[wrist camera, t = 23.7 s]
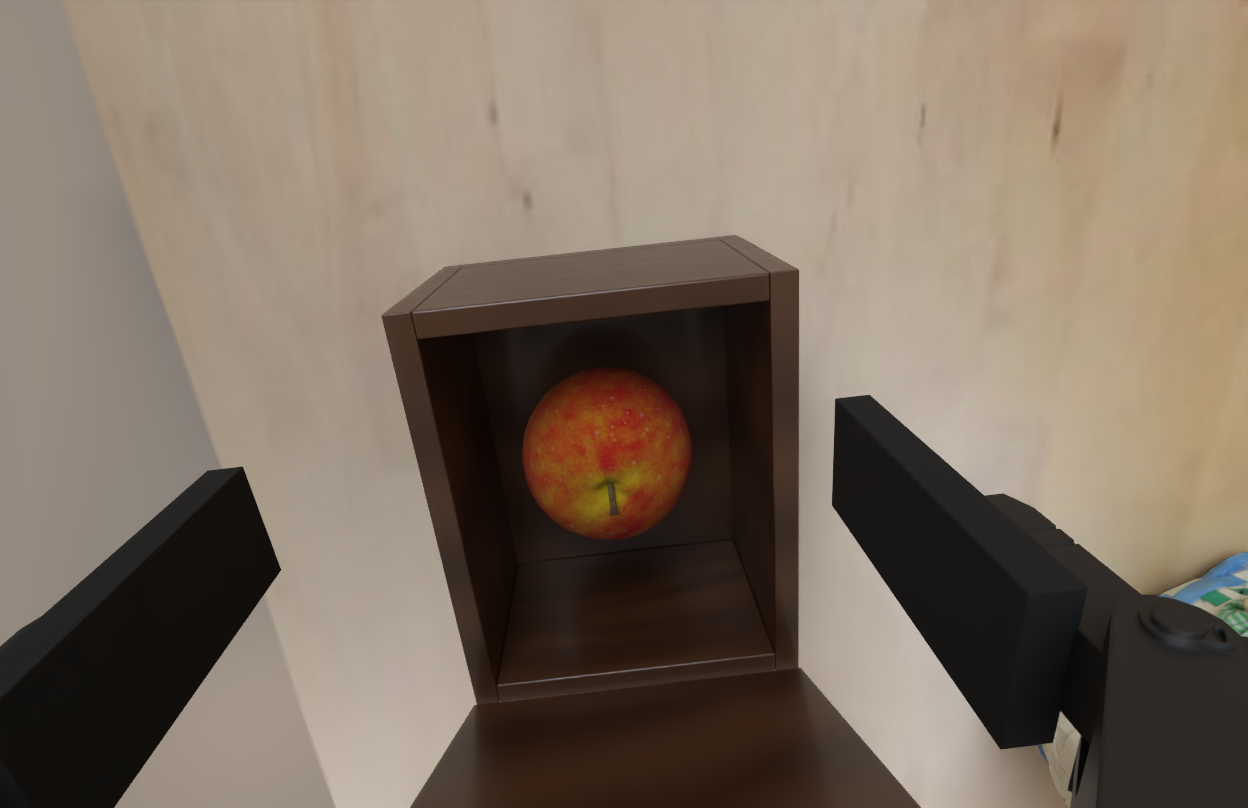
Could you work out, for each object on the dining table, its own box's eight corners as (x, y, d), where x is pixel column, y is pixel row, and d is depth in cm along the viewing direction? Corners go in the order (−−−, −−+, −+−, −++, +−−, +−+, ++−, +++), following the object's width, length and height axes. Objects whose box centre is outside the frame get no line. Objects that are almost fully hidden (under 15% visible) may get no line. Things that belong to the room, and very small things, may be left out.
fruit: (512, 365, 28) (484, 440, 21) (665, 331, 28) (691, 395, 21) (551, 498, 31) (539, 607, 24) (691, 468, 31) (724, 568, 23)
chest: (443, 266, 28) (380, 314, 19) (737, 234, 28) (799, 269, 19) (505, 569, 33) (476, 705, 25) (747, 541, 34) (798, 669, 25)
